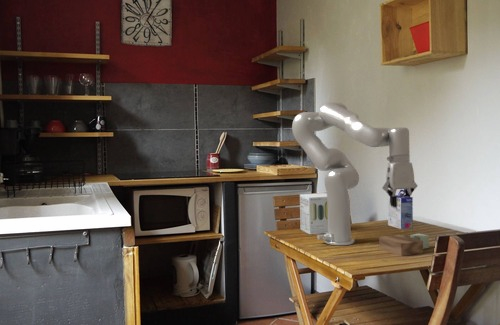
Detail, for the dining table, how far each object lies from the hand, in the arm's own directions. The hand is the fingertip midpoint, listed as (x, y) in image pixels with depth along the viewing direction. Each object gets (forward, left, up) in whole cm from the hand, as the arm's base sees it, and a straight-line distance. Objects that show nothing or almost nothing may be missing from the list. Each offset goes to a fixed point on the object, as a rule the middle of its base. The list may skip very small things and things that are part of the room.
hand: (400, 205), depth 201 cm
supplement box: (-13, +50, -18) cm, 55 cm away
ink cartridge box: (0, 0, -9) cm, 9 cm away
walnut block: (0, 0, -18) cm, 18 cm away
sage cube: (+10, +2, -18) cm, 21 cm away
